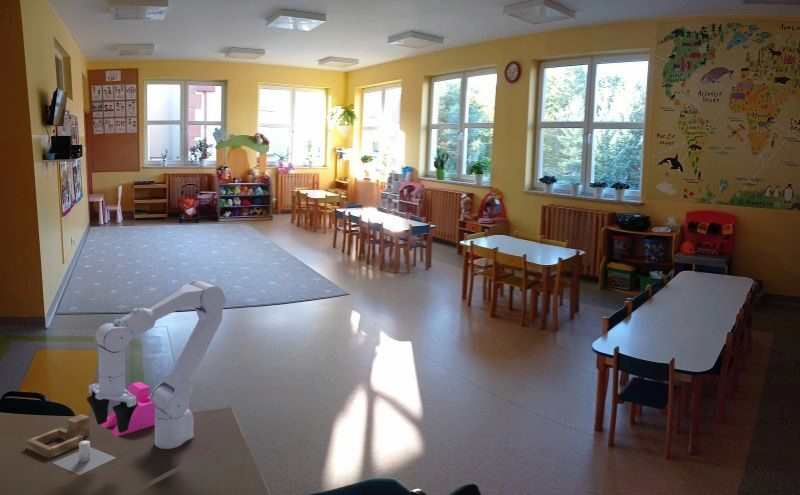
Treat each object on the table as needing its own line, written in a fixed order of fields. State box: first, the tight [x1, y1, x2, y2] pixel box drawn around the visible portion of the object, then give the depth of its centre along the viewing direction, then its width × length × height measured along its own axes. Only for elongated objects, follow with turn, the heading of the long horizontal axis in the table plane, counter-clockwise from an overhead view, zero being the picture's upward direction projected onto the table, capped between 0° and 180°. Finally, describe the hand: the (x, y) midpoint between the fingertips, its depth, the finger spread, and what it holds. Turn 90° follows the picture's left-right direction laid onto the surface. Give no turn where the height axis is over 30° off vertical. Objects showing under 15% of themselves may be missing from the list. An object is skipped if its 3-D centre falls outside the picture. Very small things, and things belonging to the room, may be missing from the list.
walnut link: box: [26, 413, 90, 459], centre depth 161 cm, size 13×9×6 cm
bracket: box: [100, 381, 155, 437], centre depth 173 cm, size 12×10×10 cm
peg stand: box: [52, 440, 117, 476], centre depth 153 cm, size 10×10×6 cm
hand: (112, 427), depth 153 cm, fingers open, 7 cm apart
